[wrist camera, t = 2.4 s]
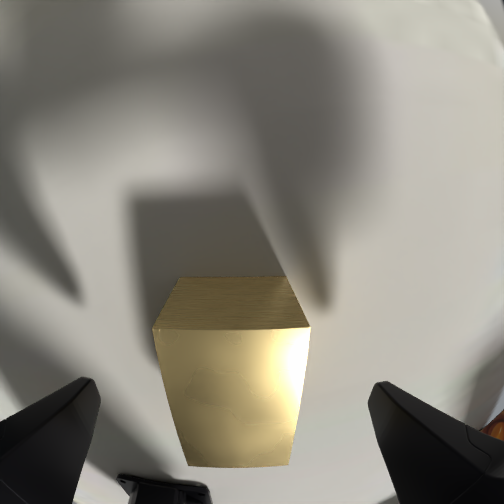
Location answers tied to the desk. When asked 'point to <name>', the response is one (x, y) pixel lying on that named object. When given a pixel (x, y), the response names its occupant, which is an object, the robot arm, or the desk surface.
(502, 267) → the desk surface
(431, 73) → the desk surface
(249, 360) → the tan rectangular block
